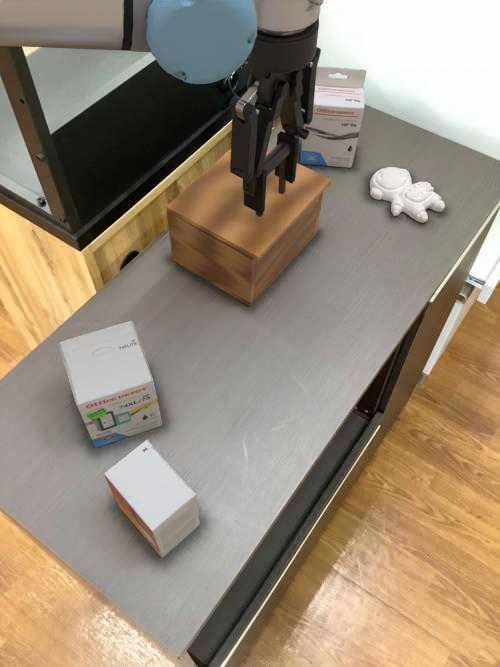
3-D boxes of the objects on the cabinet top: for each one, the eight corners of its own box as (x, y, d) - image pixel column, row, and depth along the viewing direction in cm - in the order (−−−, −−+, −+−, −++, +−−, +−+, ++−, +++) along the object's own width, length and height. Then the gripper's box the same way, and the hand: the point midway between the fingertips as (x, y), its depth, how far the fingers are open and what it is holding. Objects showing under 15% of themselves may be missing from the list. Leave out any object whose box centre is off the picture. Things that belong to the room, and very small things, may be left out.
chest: (316, 233, 93) (324, 183, 85) (250, 307, 85) (252, 260, 77) (242, 193, 97) (242, 142, 89) (172, 260, 89) (166, 211, 81)
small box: (117, 505, 70) (100, 472, 61) (157, 473, 72) (146, 436, 63) (162, 560, 67) (151, 533, 58) (202, 525, 69) (197, 493, 60)
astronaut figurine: (410, 232, 93) (415, 218, 91) (357, 185, 98) (361, 171, 96) (451, 208, 96) (457, 193, 94) (398, 163, 101) (402, 149, 99)
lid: (331, 183, 84) (337, 130, 77) (258, 261, 76) (258, 210, 69) (242, 142, 89) (241, 88, 82) (166, 211, 81) (157, 158, 74)
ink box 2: (299, 165, 101) (309, 85, 88) (300, 144, 103) (309, 64, 91) (352, 168, 101) (369, 89, 88) (352, 148, 103) (368, 68, 91)
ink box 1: (94, 449, 74) (73, 405, 64) (78, 390, 78) (56, 340, 68) (164, 426, 75) (154, 379, 66) (144, 368, 80) (132, 317, 70)
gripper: (254, 78, 54) (249, 251, 74) (364, -14, 63) (334, 163, 82) (187, 47, 57) (199, 223, 76) (302, -37, 65) (287, 140, 85)
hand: (269, 192), depth 79 cm, fingers closed on lid, 6 cm apart
